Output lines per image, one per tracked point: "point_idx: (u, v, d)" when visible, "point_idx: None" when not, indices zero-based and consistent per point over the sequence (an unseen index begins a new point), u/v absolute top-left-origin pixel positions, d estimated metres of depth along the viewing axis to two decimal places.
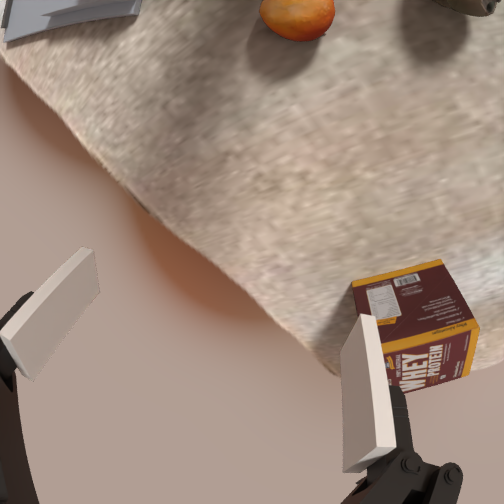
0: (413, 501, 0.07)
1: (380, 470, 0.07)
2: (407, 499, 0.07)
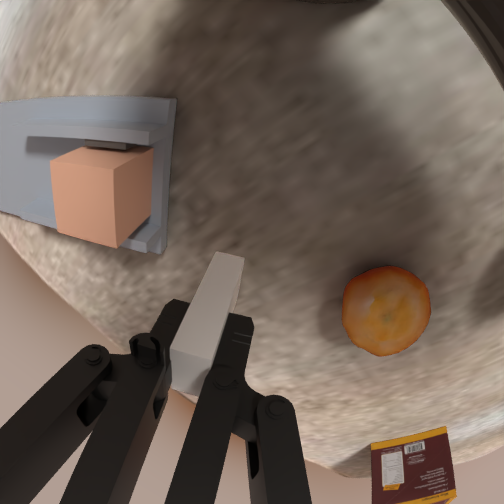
0: (246, 435, 0.09)
1: None
2: (238, 431, 0.09)
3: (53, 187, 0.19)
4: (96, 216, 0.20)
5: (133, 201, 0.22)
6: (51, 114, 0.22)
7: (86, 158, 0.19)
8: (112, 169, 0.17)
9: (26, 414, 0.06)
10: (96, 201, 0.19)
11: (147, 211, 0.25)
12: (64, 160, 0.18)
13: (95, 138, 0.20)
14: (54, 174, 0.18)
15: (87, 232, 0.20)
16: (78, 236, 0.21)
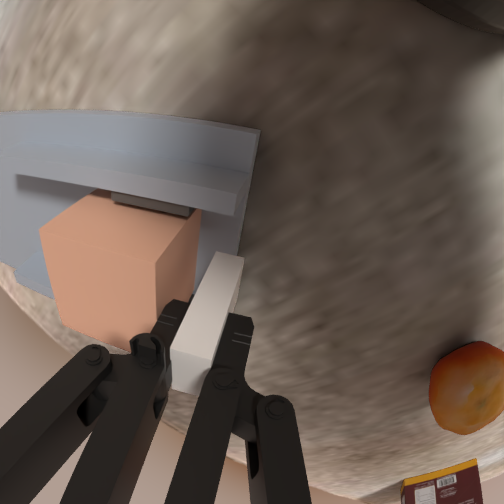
0: (246, 435, 0.09)
1: None
2: (238, 431, 0.09)
3: (49, 268, 0.12)
4: (124, 320, 0.13)
5: (178, 289, 0.15)
6: (51, 138, 0.15)
7: (100, 226, 0.12)
8: (154, 263, 0.11)
9: (26, 414, 0.06)
10: (124, 302, 0.12)
11: (191, 289, 0.18)
12: (62, 229, 0.11)
13: (131, 192, 0.13)
14: (48, 250, 0.11)
15: (110, 336, 0.14)
16: (95, 337, 0.14)
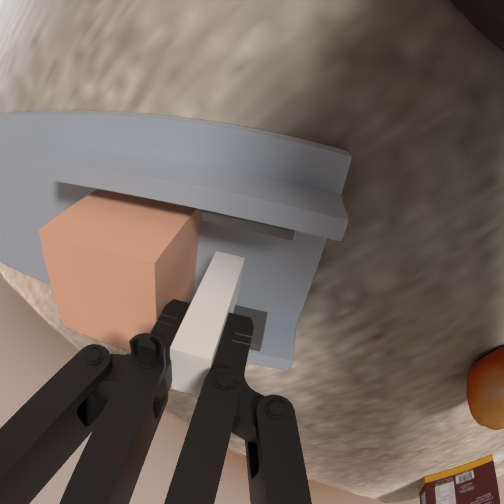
0: (245, 435, 0.09)
1: None
2: (238, 431, 0.09)
3: (49, 269, 0.12)
4: (125, 321, 0.13)
5: (177, 289, 0.15)
6: (107, 143, 0.15)
7: (99, 226, 0.12)
8: (153, 262, 0.11)
9: (26, 414, 0.06)
10: (124, 302, 0.12)
11: (191, 289, 0.18)
12: (62, 230, 0.11)
13: (230, 212, 0.13)
14: (48, 251, 0.11)
15: (110, 336, 0.14)
16: (96, 337, 0.14)
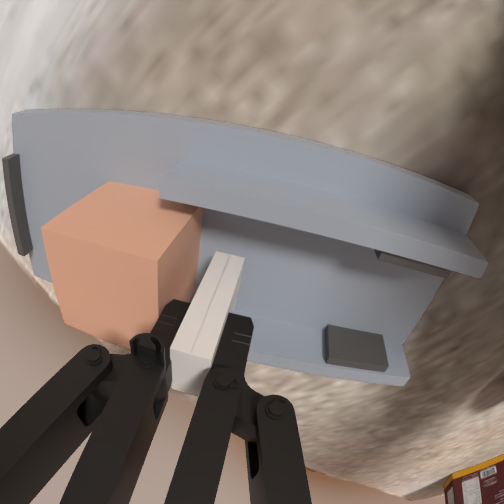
0: (245, 435, 0.09)
1: None
2: (238, 431, 0.09)
3: (51, 266, 0.12)
4: (126, 319, 0.13)
5: (179, 287, 0.15)
6: (248, 164, 0.14)
7: (102, 224, 0.12)
8: (156, 261, 0.11)
9: (26, 414, 0.06)
10: (126, 300, 0.12)
11: (192, 288, 0.18)
12: (65, 228, 0.11)
13: (407, 255, 0.12)
14: (50, 248, 0.12)
15: (112, 334, 0.14)
16: (97, 335, 0.14)
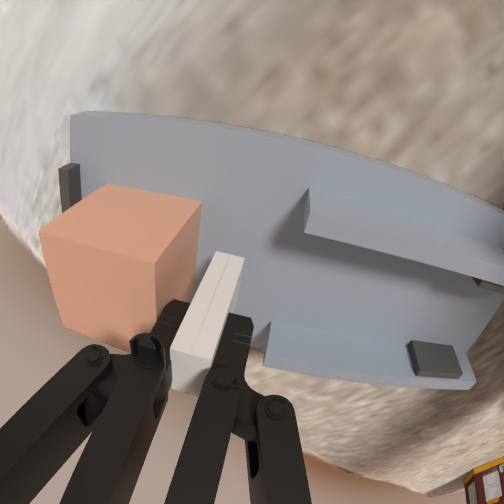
0: (246, 435, 0.09)
1: None
2: (238, 431, 0.09)
3: (49, 269, 0.12)
4: (125, 321, 0.13)
5: (177, 289, 0.15)
6: (373, 197, 0.14)
7: (99, 227, 0.12)
8: (154, 263, 0.11)
9: (26, 414, 0.06)
10: (124, 303, 0.12)
11: (191, 289, 0.18)
12: (62, 231, 0.11)
13: (499, 282, 0.12)
14: (48, 252, 0.11)
15: (110, 337, 0.14)
16: (96, 338, 0.14)
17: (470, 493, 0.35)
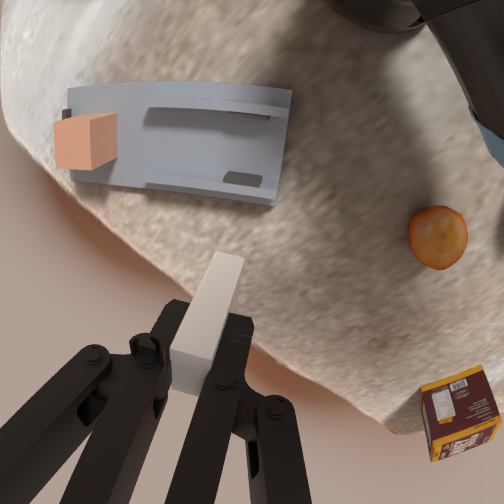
0: (246, 435, 0.09)
1: None
2: (238, 431, 0.09)
3: (55, 138, 0.29)
4: (80, 151, 0.30)
5: (103, 143, 0.32)
6: (178, 94, 0.31)
7: (75, 119, 0.29)
8: (89, 120, 0.28)
9: (26, 414, 0.06)
10: (80, 141, 0.29)
11: (114, 154, 0.35)
12: (62, 121, 0.28)
13: (240, 111, 0.29)
14: (55, 130, 0.29)
15: (74, 163, 0.31)
16: (69, 168, 0.31)
17: (424, 416, 0.50)
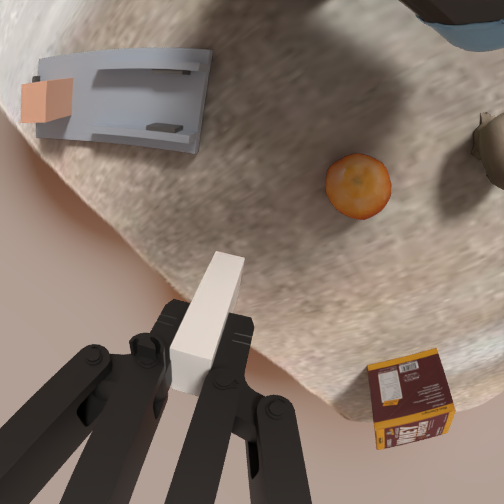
0: (246, 435, 0.09)
1: None
2: (238, 431, 0.09)
3: (21, 97, 0.30)
4: (38, 107, 0.31)
5: (58, 101, 0.33)
6: (119, 59, 0.32)
7: None
8: (46, 81, 0.29)
9: (26, 414, 0.06)
10: (39, 98, 0.30)
11: (68, 112, 0.36)
12: (28, 83, 0.29)
13: (160, 68, 0.30)
14: (22, 90, 0.29)
15: (34, 117, 0.31)
16: (29, 121, 0.32)
17: None
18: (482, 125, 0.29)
